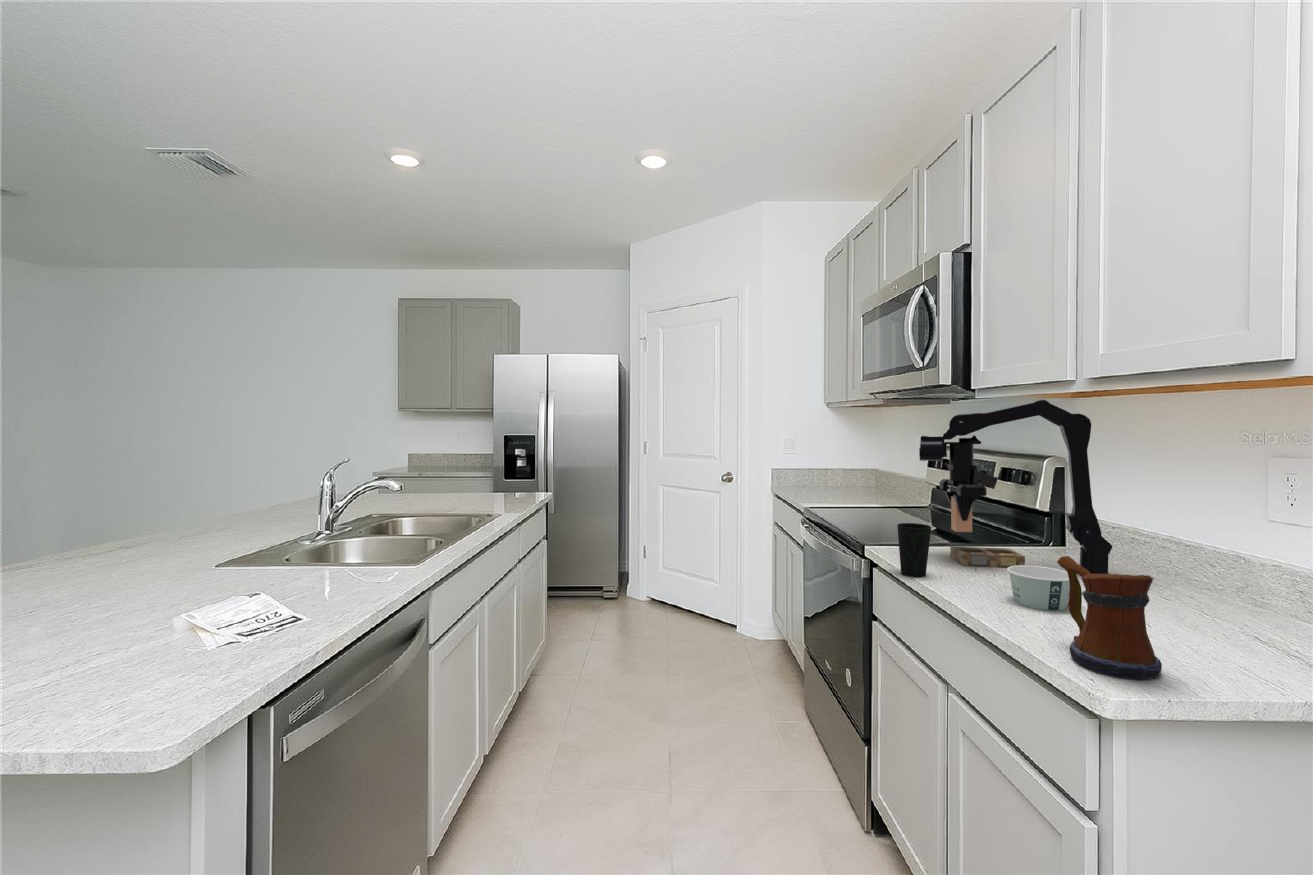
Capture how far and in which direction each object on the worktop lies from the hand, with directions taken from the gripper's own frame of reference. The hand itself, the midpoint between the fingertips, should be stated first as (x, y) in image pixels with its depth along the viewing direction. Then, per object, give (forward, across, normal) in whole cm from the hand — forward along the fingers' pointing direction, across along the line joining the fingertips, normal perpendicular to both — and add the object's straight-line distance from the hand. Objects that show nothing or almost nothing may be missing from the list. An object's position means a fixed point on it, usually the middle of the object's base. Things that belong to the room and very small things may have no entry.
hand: (961, 519), depth 162 cm
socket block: (+12, 0, -6) cm, 13 cm away
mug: (+12, -67, +1) cm, 68 cm away
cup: (+11, -17, +16) cm, 26 cm away
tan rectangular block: (+3, 0, 0) cm, 3 cm away
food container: (+12, -37, -3) cm, 39 cm away
